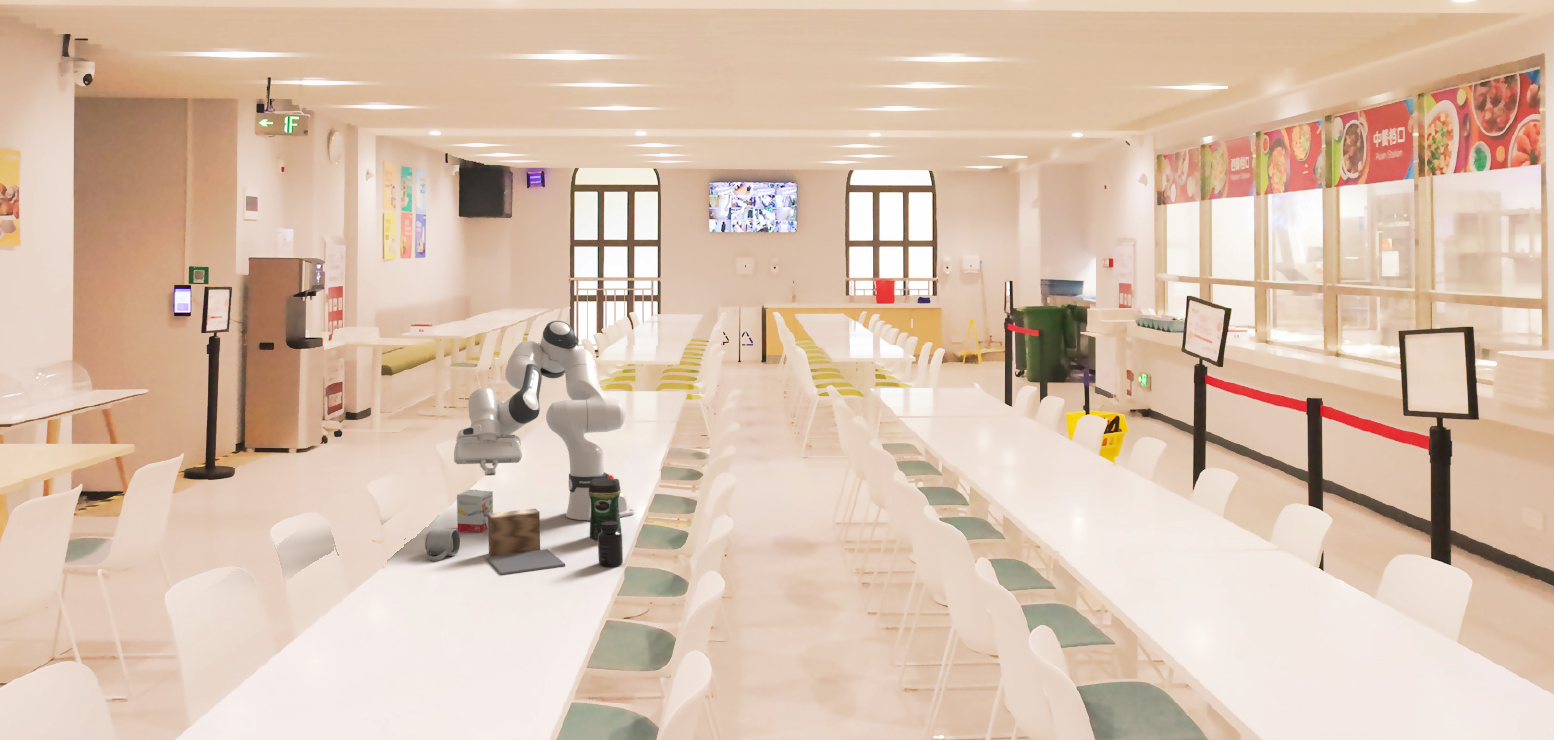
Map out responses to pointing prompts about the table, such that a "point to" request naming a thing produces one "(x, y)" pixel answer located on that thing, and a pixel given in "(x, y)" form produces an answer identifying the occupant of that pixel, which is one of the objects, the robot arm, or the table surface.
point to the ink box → (474, 510)
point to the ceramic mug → (442, 543)
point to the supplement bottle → (610, 545)
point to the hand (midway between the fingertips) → (490, 474)
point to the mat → (525, 561)
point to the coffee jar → (603, 504)
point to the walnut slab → (514, 532)
